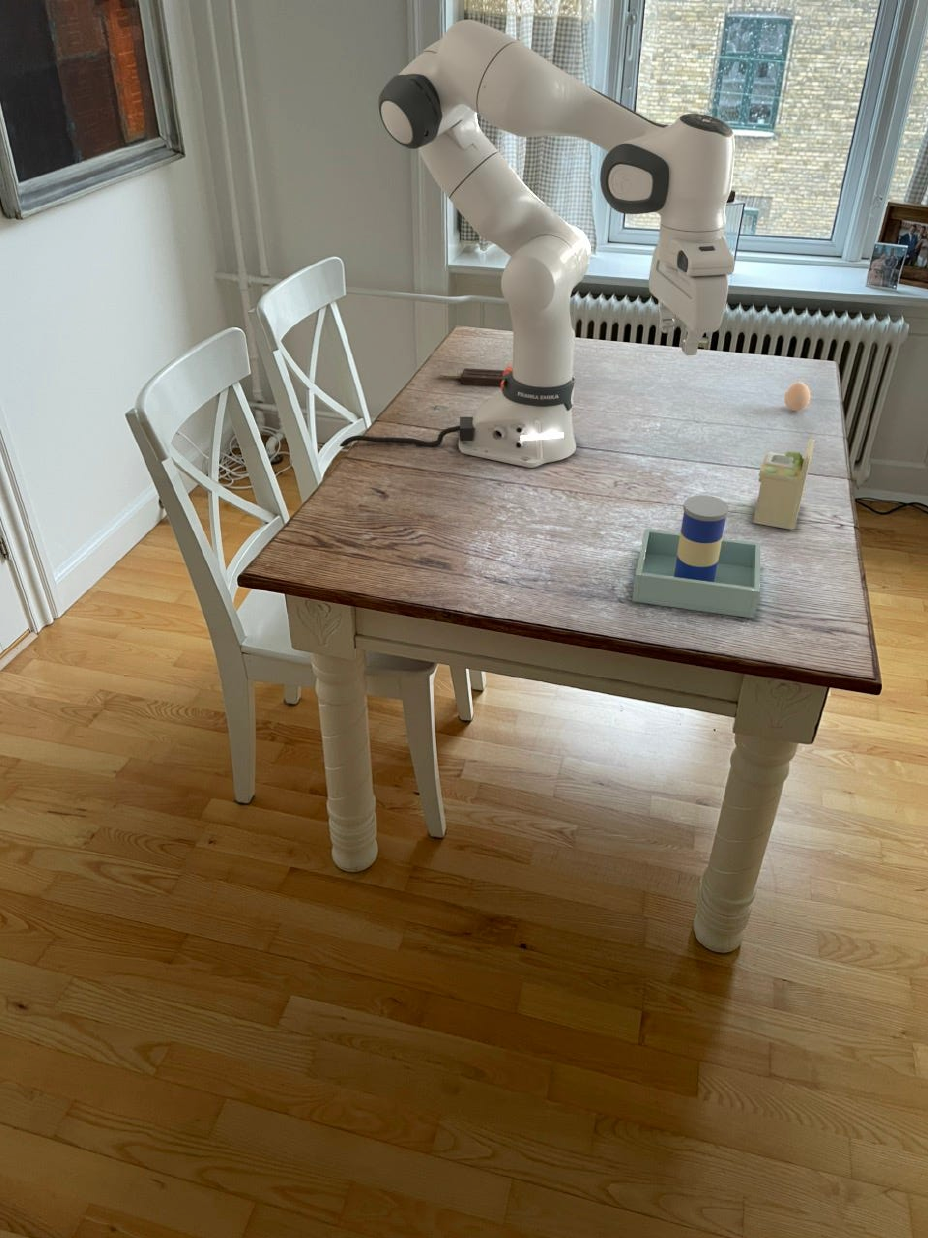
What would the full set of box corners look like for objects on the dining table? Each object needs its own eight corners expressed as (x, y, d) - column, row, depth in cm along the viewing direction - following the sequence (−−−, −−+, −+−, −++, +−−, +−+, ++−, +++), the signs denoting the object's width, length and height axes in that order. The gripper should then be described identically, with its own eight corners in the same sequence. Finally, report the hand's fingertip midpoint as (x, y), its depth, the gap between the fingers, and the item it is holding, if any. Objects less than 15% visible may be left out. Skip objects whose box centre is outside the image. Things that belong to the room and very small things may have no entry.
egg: (782, 403, 202) (787, 376, 198) (807, 406, 200) (813, 379, 197) (781, 413, 198) (787, 386, 194) (807, 416, 197) (813, 389, 193)
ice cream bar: (438, 382, 211) (506, 386, 209) (438, 375, 210) (507, 379, 208) (442, 373, 215) (509, 377, 213) (442, 366, 214) (509, 370, 212)
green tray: (632, 601, 143) (635, 574, 140) (641, 554, 154) (644, 528, 151) (754, 618, 140) (760, 591, 137) (755, 569, 150) (760, 543, 147)
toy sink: (756, 500, 168) (770, 430, 160) (799, 507, 166) (816, 437, 158) (749, 523, 162) (763, 451, 154) (794, 531, 160) (810, 459, 152)
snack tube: (670, 589, 144) (682, 513, 137) (674, 567, 149) (685, 492, 142) (713, 595, 143) (727, 519, 135) (715, 572, 148) (729, 498, 140)
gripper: (643, 227, 143) (634, 320, 151) (695, 267, 127) (681, 368, 135) (684, 225, 144) (672, 317, 152) (740, 264, 128) (724, 365, 136)
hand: (677, 342), depth 143 cm, fingers open, 8 cm apart
